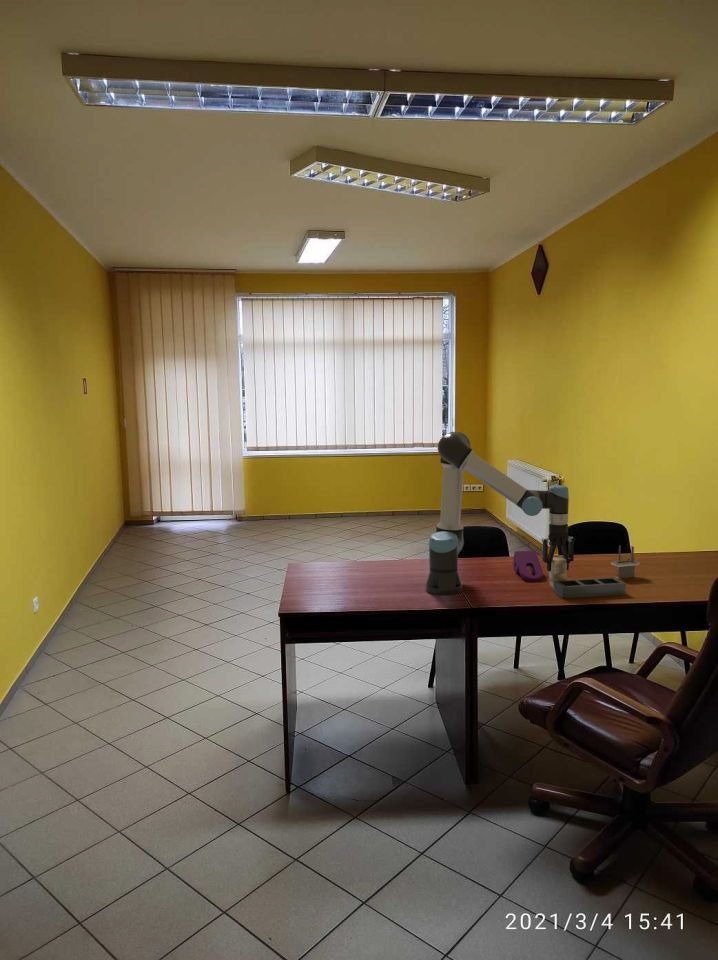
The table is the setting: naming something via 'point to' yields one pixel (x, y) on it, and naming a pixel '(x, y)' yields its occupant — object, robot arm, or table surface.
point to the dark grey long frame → (589, 587)
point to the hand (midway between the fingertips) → (557, 578)
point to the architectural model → (625, 565)
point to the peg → (558, 570)
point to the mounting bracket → (524, 560)
